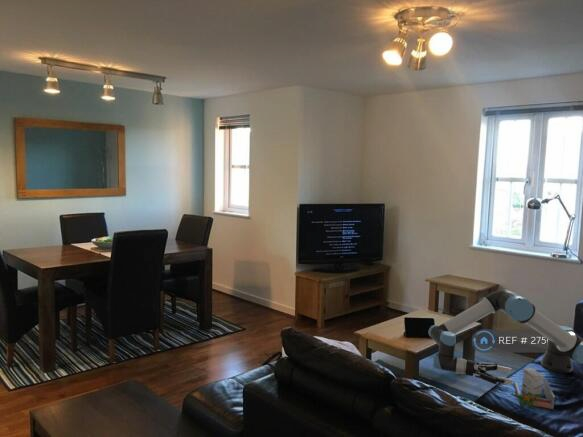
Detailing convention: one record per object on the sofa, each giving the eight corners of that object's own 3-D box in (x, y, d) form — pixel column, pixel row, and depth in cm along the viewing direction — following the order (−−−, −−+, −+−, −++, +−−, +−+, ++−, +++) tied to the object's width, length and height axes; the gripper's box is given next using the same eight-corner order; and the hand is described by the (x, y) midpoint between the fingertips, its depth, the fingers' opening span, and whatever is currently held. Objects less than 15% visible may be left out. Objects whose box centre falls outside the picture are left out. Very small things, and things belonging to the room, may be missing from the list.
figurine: (537, 412, 213) (539, 395, 212) (507, 404, 218) (509, 388, 217) (537, 409, 216) (539, 392, 214) (508, 401, 221) (510, 385, 220)
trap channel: (545, 390, 235) (546, 379, 234) (553, 409, 217) (554, 396, 216) (514, 384, 239) (515, 373, 238) (519, 402, 221) (521, 390, 220)
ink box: (541, 399, 225) (544, 375, 224) (532, 399, 225) (535, 376, 223) (529, 390, 234) (532, 367, 232) (520, 390, 233) (523, 367, 231)
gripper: (466, 364, 252) (510, 373, 244) (463, 384, 229) (511, 395, 221) (467, 351, 251) (511, 359, 243) (464, 369, 228) (513, 379, 220)
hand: (511, 376), depth 232 cm, fingers open, 13 cm apart
